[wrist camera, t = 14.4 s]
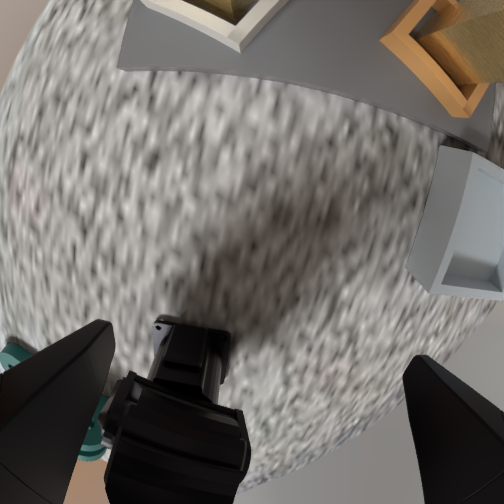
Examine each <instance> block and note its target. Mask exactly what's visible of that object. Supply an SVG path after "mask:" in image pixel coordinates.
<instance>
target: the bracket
mask: <svg viewBox="0 0 504 504" xmlns="http://www.w3.org/2000/svg"><path fill="white" fill-rule="evenodd" d="M30 356H32V354H31V353H29V352H28V351H26V350H25V349H24V348H22V347H21V346H19V345H17V344H15V343H8V344H7V345H6V347H5V348H4V349H3V350H2V352H1V353H0V362H1V364H2V366H3V368H4V369H5V371H6V370H8V369H9V368H11V367H13V366H15V365H16V364H18V363H20V362H22V361H23V360H25V359H27V358H29V357H30ZM108 399H109V398H107V397H105V396H103V395H101V398H100V401H99V403H98V406H97V408H96V411H95V413H94V416H93V418H92V421H91V423H90V426H89V429H88V431H87V434H86V436H85V439H84V442H83V445H82V447H81V450H80V453H79V456H78V459H79V460H82V461H94V460H97V459H99V458H101V457H102V456H103V455H104V453H105V452H106V449H107V448H106V447H104V446H101V442H102V438H103V436H102V435H101V432H102V428H101V426H100V424H99V422H98V420H97V419H98V416H99V413H100V411H101V410H102V408H103V407H104V405H105V404H106V402H107V401H108Z"/></svg>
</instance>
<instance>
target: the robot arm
mask: <svg viewBox="0 0 504 504" xmlns="http://www.w3.org/2000/svg"><path fill="white" fill-rule="evenodd" d="M157 325H158V326H160V327H158V326H157ZM223 337H227V338H223ZM230 340H231V335H230V333H229V332H227V331H221V330H214V329H207V328H201V327H195V326H189V325H183V324H177V323H171V322H166V321H161V320H156V321H155V322H154V324H153V341H154V356H155V358H154V361H153V363H152V366H151V369H150V372H149V374H148V377H147V379H146V378H143V377H141V376H139V375H137V373H135V372H133V371H129V373H128V375H127V377H126V378H125V377H124V378H123V380H117V382H116V384H115V387H114V389H113V391H112V394H111V396H110V397H109V399H108V401H107V402H106V404H105V405H104V407H103V408H102V410H101V411H100V413H99V416H98V419H97V420H98V422H99V424H100V426H101V428H102V432H101V435H102V436H103V438H102V442H101V446H104V447H106V448H108V449H111V454H110V457H109V460H108V464H107V467H106V471H105V475H104V482H105V485H106V486H105V490H106V493H107V497H108V499H109V503H110V504H233V502H234V497H235V494H236V492H237V489H238V486H239V484H240V483H241V482H242V481H243V479H244V478H245V476H246V474H247V471H248V468H249V465H250V460H251V445H250V441H249V437H248V432H247V428H246V424H245V419H244V415H243V411H242V410H239V409H231V408H228V407H224V406H221V405H218V396H219V387H220V385H221V384H223V383H224V379H225V372H226V366H227V359H228V353H229V347H230ZM114 352H115V338H114V332H113V326H112V323H111V322H109V321H105V320H101V319H97V320H95V321H93V322H91V323H89V324H88V325H86V326H84V327H82V328H80V329H79V330H77V331H75V332H73V333H71V334H70V335H68V336H66V337H64V338H62V339H61V340H59V341H57V342H55V343H53V344H52V345H50V346H48V347H46V348H45V349H43V350H41V351H39V352H38V353H36V354H34V355H32V356H30V357H29V358H27V359H25V360H23V361H22V362H20V363H18V364H16V365H15V366H13V367H11V368H9V369H8V370H6V371H4V372H3V373H1V374H0V504H63V502H64V499H65V496H66V492H67V489H68V486H69V483H70V480H71V476H72V473H73V470H74V467H75V464H76V462H77V459H78V456H79V453H80V450H81V447H82V445H83V442H84V439H85V436H86V434H87V431H88V429H89V426H90V423H91V421H92V418H93V416H94V413H95V411H96V408H97V406H98V403H99V401H100V398H101V395H102V392H103V389H104V386H105V382H106V379H107V375H108V372H109V369H110V365H111V362H112V359H113V356H114ZM403 385H404V391H405V397H406V404H407V410H408V417H409V422H410V427H411V431H412V435H413V440H414V444H415V449H416V454H417V459H418V465H419V470H420V476H421V481H422V487H423V494H424V502H425V504H504V412H503V411H501V410H500V409H499V408H497V407H496V406H495V405H494V404H492V403H491V402H490V401H488V400H487V399H486V398H484V397H483V396H482V395H480V394H479V393H478V392H476V391H475V390H474V389H472V388H471V387H470V386H468V385H467V384H466V383H464V382H462V380H460V379H459V378H458V377H456V376H455V375H453V374H452V373H451V372H449V371H448V370H447V369H445V368H444V367H443V366H441V365H440V364H439V363H437V362H436V361H434V360H433V359H432V358H430V357H429V356H427V355H416V356H414V357H413V359H412V360H411V362H410V363H409V365H408V367H407V368H406V370H405V371H404V374H403Z"/></svg>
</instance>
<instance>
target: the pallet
mask: <svg viewBox="0 0 504 504" xmlns="http://www.w3.org/2000/svg"><path fill="white" fill-rule="evenodd" d="M458 2H460V1H459V0H255V1H254V2H253V3H252V4H251V5H250V6H249V7H248V8H247V9H246V10H245V11H244V12H243V13H242V14H241V15H240V16H239V17H238V19H237V20H236V21H235V22H234V21H232V20H230V19H228V18H226V17H224V16H222V15H220V14H218V13H216V12H214V11H212V10H210V9H208V8H206V7H204V6H201V5H199V4H197V3H195V2H192V1H190V0H133V3H132V7H131V10H130V14H129V17H128V21H127V25H126V29H125V33H124V37H123V41H122V45H121V50H120V55H119V60H118V65H117V68H119V69H121V70H124V71H189V72H205V73H217V74H228V75H237V76H245V77H252V78H259V79H265V80H271V81H277V82H282V83H288V84H293V85H298V86H302V87H307V88H311V89H316V90H320V91H324V92H328V93H332V94H335V95H339V96H343V97H346V98H350V99H353V100H357V101H360V102H363V103H366V104H369V105H372V106H375V107H378V108H381V109H384V110H387V111H390V112H393V113H395V114H398V115H401V116H403V117H406V118H409V119H411V120H414V121H416V122H418V123H421V124H423V125H426V126H428V127H430V128H433V129H435V130H437V131H439V132H441V133H444V134H446V135H448V136H450V137H452V138H454V139H456V140H458V141H460V142H462V143H464V144H466V145H468V146H470V147H472V148H474V149H476V150H479V151H484V152H488V148H489V142H490V136H491V129H492V121H493V112H494V100H495V84H496V83H477V84H464V85H455V84H454V83H453V82H452V81H451V79H450V78H449V77H448V76H447V75H446V73H445V72H444V71H443V70H442V69H441V68H440V67H439V65H438V64H437V63H436V62H435V61H434V60H433V59H432V58H431V57H430V56H429V55H428V53H427V52H426V51H425V50H424V49H423V48H422V47H421V46H420V45H419V44H418V43H417V42H416V41H415V40H414V39H413V37H414V36H415V35H416V33H417V32H418V31H419V30H420V28H421V27H422V26H423V25H424V23H425V22H426V21H427V20H428V18H429V17H430V16H431V15H432V14H434V13H436V12H438V11H440V10H442V9H444V8H447V7H449V6H451V5H453V4H455V3H458Z"/></svg>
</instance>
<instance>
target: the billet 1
mask: <svg viewBox="0 0 504 504" xmlns="http://www.w3.org/2000/svg"><path fill="white" fill-rule="evenodd" d="M190 1H192V2H195V3H197V4H199V5H201V6H204V7H206V8H208V9H210V10H212V11H214V12H216V13H218V14H220V15H222V16H224V17H226V18H228V19H230V20H232V21H234V22H235V21H236V20H237V19H238V17H239V16H240V15H241V14H242V13H243V12H244V11H245V10H246V9H247V8H248V7H249V6H250V5H251V4H252V3H253V2H254V1H255V0H190Z"/></svg>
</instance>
